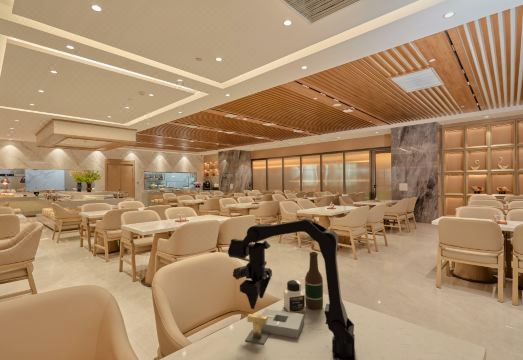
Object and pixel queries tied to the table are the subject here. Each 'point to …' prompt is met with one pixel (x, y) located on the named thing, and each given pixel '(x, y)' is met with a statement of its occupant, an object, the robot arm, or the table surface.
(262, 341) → the pad
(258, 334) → the t key
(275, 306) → the table surface
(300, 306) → the medicine bottle
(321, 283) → the beer bottle
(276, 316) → the grey socket block
